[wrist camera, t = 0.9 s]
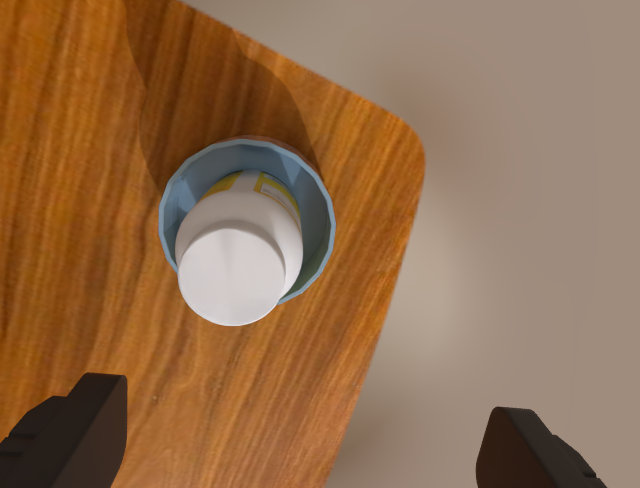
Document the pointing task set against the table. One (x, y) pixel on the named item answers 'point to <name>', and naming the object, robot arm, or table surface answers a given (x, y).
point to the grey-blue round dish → (265, 157)
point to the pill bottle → (239, 248)
